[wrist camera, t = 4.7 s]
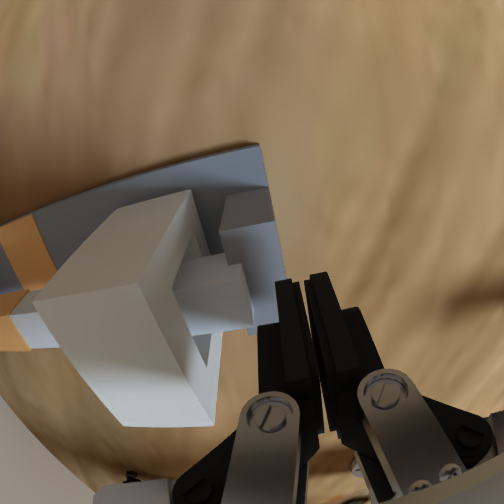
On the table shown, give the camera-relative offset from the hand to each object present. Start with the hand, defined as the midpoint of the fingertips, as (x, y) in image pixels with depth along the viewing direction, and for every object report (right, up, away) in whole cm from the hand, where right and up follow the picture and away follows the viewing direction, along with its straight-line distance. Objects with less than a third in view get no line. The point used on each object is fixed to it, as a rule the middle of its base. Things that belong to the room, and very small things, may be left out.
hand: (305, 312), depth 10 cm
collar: (-6, +2, +6) cm, 8 cm away
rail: (-12, +1, +7) cm, 14 cm away
